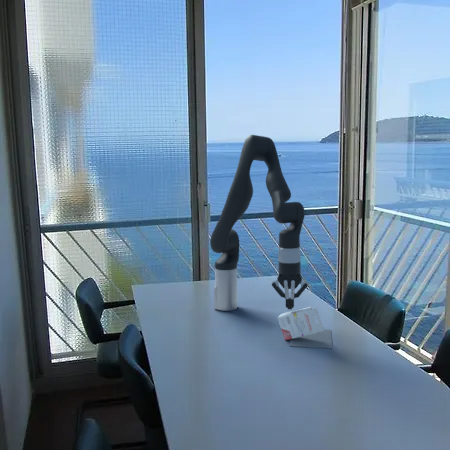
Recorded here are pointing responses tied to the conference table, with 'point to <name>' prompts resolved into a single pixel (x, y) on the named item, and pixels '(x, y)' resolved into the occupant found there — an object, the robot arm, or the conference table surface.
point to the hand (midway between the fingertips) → (290, 308)
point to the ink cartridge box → (300, 323)
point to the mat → (314, 340)
